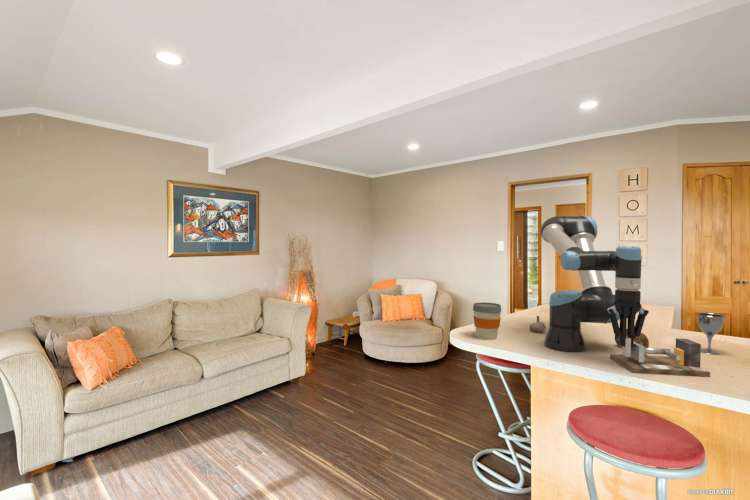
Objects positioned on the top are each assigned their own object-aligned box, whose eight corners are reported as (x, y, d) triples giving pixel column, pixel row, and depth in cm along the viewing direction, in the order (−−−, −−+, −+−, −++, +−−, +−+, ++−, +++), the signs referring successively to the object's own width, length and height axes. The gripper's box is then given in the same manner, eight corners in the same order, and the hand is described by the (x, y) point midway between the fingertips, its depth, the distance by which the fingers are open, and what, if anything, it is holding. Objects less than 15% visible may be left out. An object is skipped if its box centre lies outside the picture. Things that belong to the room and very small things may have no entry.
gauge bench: (632, 372, 124) (633, 344, 124) (610, 357, 140) (610, 333, 140) (709, 376, 120) (710, 348, 120) (678, 361, 136) (678, 335, 136)
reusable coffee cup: (471, 333, 177) (471, 302, 177) (498, 334, 176) (498, 302, 175) (474, 340, 165) (474, 306, 165) (503, 341, 163) (504, 307, 163)
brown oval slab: (613, 345, 157) (614, 325, 157) (620, 345, 157) (621, 325, 157) (642, 356, 142) (643, 334, 142) (650, 356, 142) (650, 334, 142)
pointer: (679, 365, 123) (679, 350, 123) (673, 362, 126) (674, 347, 126) (683, 365, 122) (683, 350, 122) (677, 362, 125) (678, 348, 125)
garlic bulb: (544, 334, 176) (544, 317, 176) (527, 332, 180) (528, 315, 180) (546, 331, 182) (546, 315, 182) (530, 329, 186) (531, 313, 186)
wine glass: (690, 349, 151) (691, 312, 151) (708, 348, 152) (709, 312, 152) (710, 355, 144) (711, 316, 143) (728, 354, 144) (729, 316, 144)
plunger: (643, 365, 124) (644, 348, 124) (626, 355, 135) (627, 340, 135) (682, 366, 123) (682, 350, 122) (662, 356, 133) (662, 341, 133)
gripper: (612, 290, 128) (611, 357, 129) (654, 291, 126) (652, 360, 127) (603, 287, 136) (601, 351, 136) (642, 288, 134) (641, 353, 134)
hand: (626, 355), depth 131 cm, fingers closed
